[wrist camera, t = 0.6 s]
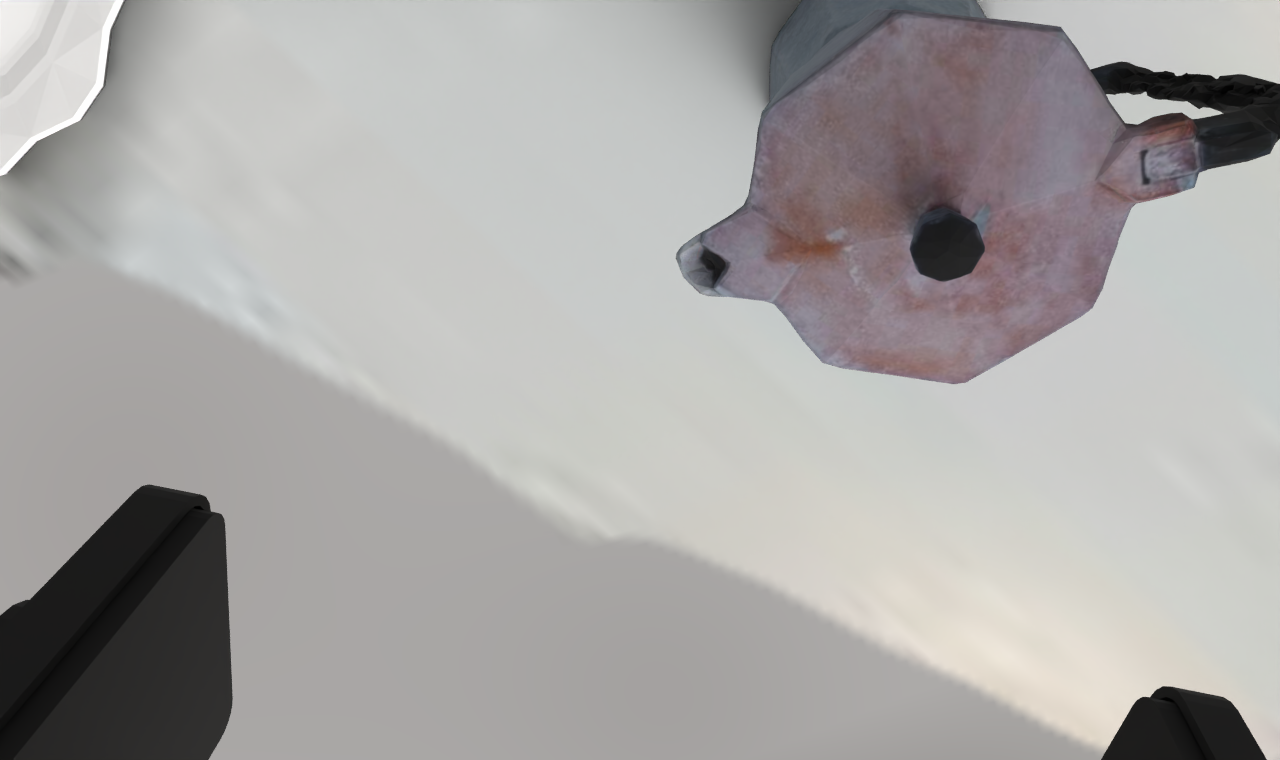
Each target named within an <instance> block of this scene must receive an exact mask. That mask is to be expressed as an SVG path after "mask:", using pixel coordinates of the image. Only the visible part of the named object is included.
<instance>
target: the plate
mask: <svg viewBox="0 0 1280 760" xmlns="http://www.w3.org/2000/svg"><path fill="white" fill-rule="evenodd" d="M125 1H126V0H0V176H1V175H4V174H6V173H8V172H9V171H10V170H11V169H12V168H13V167H14V166H15V165H16V164H17V163H18V162H19V161H20V160H21V159H22V158H23V156H24V155H25V154H26V153H27V152H28V151H29V150H30V149H31V148H32V147H33V146H34V145H35V144H36V143H37V142H38V141H39V140H40V139H42V138H44V137H46V136H48V135H51V134H53V133H55V132H57V131H59V130H61V129H63V128H65V127H67V126H69V125H71V124H73V123H75V122H78V121H80V120H82V119H83V117H84V116H85V114H86V113H87V111H88V110H89V108H90V107H91V105H92V104H93V102H94V101H95V100H96V98H97V97H98V95H99V94H100V92H101V91H102V89H103V88H104V86H105V83H106V75H107V68H108V60H109V52H110V44H111V36H112V29H113V27H114V25H115V22H116V20H117V18H118V16H119V14H120V12H121V9H122V7H123V5H124V3H125Z"/></svg>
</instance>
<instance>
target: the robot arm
mask: <svg viewBox="0 0 1280 760" xmlns="http://www.w3.org/2000/svg"><path fill="white" fill-rule="evenodd" d="M231 708H232V675H231V652H230V629H229V606H228V583H227V559H226V536H225V522H224V518H223V516H222V515H221V514H219V513H215V512H211V510H210V504H209V502H208V500H207V498H206V497H205V496H203V495H200V494H195V493H189V492H184V491H179V490H174V489H169V488H164V487H159V486H154V485H145V486H142V487H140V488H139V489H138V490H137V491H135V492H134V493H133V494H132V495H131V496H130V497H129V498H128V499H127V500H126V501H125V502H124V503H123V504H122V505H121V506H120V508H119V509H118V510H117V511H116V512H115V513H114V514H113V515H112V516H111V517H110V518H109V519H108V520H107V521H106V522H105V523H104V524H103V525H102V526H101V527H100V528H99V529H98V530H97V531H96V532H95V533H94V534H93V535H92V536H91V537H90V539H89V540H88V541H87V542H86V543H85V544H84V545H83V546H82V547H81V548H80V549H79V550H78V551H77V552H76V553H75V554H74V555H73V556H72V557H71V558H70V559H69V560H68V561H67V562H66V563H65V564H64V565H63V566H62V567H61V568H60V569H59V570H58V571H57V573H56V574H55V575H54V576H53V577H52V578H51V579H50V580H49V581H48V582H47V583H46V584H45V585H44V586H43V587H42V588H41V589H40V590H39V591H38V592H37V593H36V594H35V595H34V596H33V597H32V598H31V599H30V600H25V601H22V602H20V603H17V604H15V605H13V606H11V607H10V608H9V609H8V610H6V611H5V612H4V613H3V614H2V615H0V760H208V759H209V758H210V756H211V754H212V752H213V751H214V749H215V747H216V746H217V744H218V742H219V741H220V739H221V737H222V735H223V733H224V731H225V729H226V726H227V724H228V721H229V717H230V714H231ZM1101 760H1267V759H1266V758H1265V756H1264V754H1263V752H1262V751H1261V749H1260V747H1259V746H1258V744H1257V742H1256V741H1255V739H1254V737H1253V735H1252V734H1251V732H1250V730H1249V729H1248V727H1247V725H1246V723H1245V722H1244V720H1243V718H1242V717H1241V715H1240V713H1239V711H1238V710H1237V709H1236V707H1235V706H1234V705H1233V704H1232V702H1230V701H1229V700H1227V699H1225V698H1224V697H1220V696H1215V695H1210V694H1205V693H1200V692H1195V691H1190V690H1185V689H1180V688H1175V687H1165V686H1163V687H1161V688H1159V689H1157V690H1156V691H1155V692H1154V693H1153V694H1152V696H1151V697H1150V698H1149V697H1142V698H1140V699H1138V700H1137V701H1136V702H1135V704H1134V705H1133V706H1132V708H1131V710H1130V711H1129V713H1128V715H1127V717H1126V718H1125V720H1124V722H1123V723H1122V725H1121V727H1120V728H1119V730H1118V732H1117V734H1116V735H1115V737H1114V739H1113V740H1112V742H1111V744H1110V745H1109V747H1108V749H1107V751H1106V752H1105V754H1104V756H1103V757H1102V759H1101Z"/></svg>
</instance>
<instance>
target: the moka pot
mask: <svg viewBox="0 0 1280 760" xmlns="http://www.w3.org/2000/svg"><path fill="white" fill-rule="evenodd" d="M769 91H770V103H769V104H768V105H767V107H766V108H765V109H764V110H763V112H762V115H761V119H760V123H759V127H758V134H757V143H756V152H755V161H754V167H753V173H752V178H751V184H750V190H749V195H748V197H747V199H746V201H745V204H744V205H743V206H742V207H741V208H739V209H738V210H737V211H736V212H734V213H733V214H732V215H730V216H728V217H727V218H725V219H723V220H722V221H720V222H719V223H717V224H715V225H714V226H712V227H710V228H709V229H707V230H705V231H703V232H702V233H700V234H698V235H696V236H695V237H693V238H692V239H691V240H689V241H688V242H687V243H685V244H684V245H683V246H682V247H681V248H680V249H679V251H678V252H677V254H676V259H677V262H678V265H679V267H680V270H681V272H682V275H683V277H684V278H685V279H686V280H687V281H688V282H689V283H690V284H691V285H692V286H693V287H694V288H695V289H696V290H697V291H698V292H699V293H701V294H704V295H707V296H718V297H735V298H743V299H752V300H761V301H766V302H769V303H772V304H775V305H776V307H777V308H778V309H779V310H780V311H781V312H782V313H783V314H784V315H785V317H786V318H787V319H788V321H789V322H790V323H791V325H792V326H793V327H794V329H795V330H796V332H797V333H798V334H799V336H800V337H801V338H802V340H803V341H804V342H805V343H806V345H807V346H808V347H809V348H810V349H811V350H812V351H813V352H814V354H815V355H816V356H817V357H818V358H819V359H820V360H821V361H822V363H826V364H829V365H832V366H836V367H839V368H844V369H851V370H858V371H865V372H872V373H880V374H889V375H896V376H903V377H909V378H916V379H922V380H929V381H936V382H943V383H950V384H958V383H966V382H967V381H969V380H971V379H973V378H974V377H976V376H978V375H980V374H982V373H983V372H985V371H987V370H989V369H991V368H992V367H994V366H996V365H998V364H1000V363H1001V362H1003V361H1005V360H1007V359H1008V358H1010V357H1012V356H1014V355H1015V354H1017V353H1019V352H1021V351H1022V350H1024V349H1026V348H1027V347H1029V346H1031V345H1033V344H1034V343H1036V342H1038V341H1040V340H1041V339H1043V338H1045V337H1047V336H1048V335H1050V334H1052V333H1053V332H1055V331H1057V330H1059V329H1060V328H1062V327H1064V326H1066V325H1067V324H1069V323H1071V322H1073V321H1074V320H1076V319H1078V318H1079V317H1081V316H1082V315H1084V314H1085V313H1086V312H1088V311H1089V310H1090V309H1092V308H1093V306H1094V304H1095V302H1096V300H1097V298H1098V296H1099V294H1100V292H1101V291H1102V289H1103V285H1104V282H1105V279H1106V275H1107V272H1108V269H1109V266H1110V263H1111V260H1112V258H1113V255H1114V253H1115V250H1116V247H1117V244H1118V240H1119V237H1120V234H1121V232H1122V229H1123V227H1124V225H1125V222H1126V220H1127V217H1128V215H1129V212H1130V210H1131V208H1132V207H1133V206H1134V205H1135V204H1136V203H1141V202H1146V201H1150V200H1154V199H1158V198H1162V197H1167V196H1171V195H1174V194H1177V193H1180V192H1182V191H1185V190H1188V189H1191V188H1194V187H1195V184H1196V181H1197V177H1198V174H1199V173H1200V172H1202V171H1205V170H1207V169H1211V168H1216V167H1221V166H1226V165H1231V164H1236V163H1241V162H1246V161H1250V160H1253V159H1256V158H1259V157H1262V156H1265V155H1267V154H1270V153H1271V151H1272V149H1273V147H1274V145H1275V143H1276V142H1277V141H1278V140H1279V139H1280V84H1277V83H1274V82H1270V81H1266V80H1262V79H1258V78H1255V77H1251V76H1247V75H1242V74H1237V75H1227V76H1219V78H1218V79H1215V78H1214V77H1212V76H1211V75H1200V74H1188V73H1186V74H1184V75H1182V76H1175V74H1174V73H1172V72H1167V71H1164V72H1153V71H1151V70H1149V69H1146V68H1142V67H1138V66H1135V65H1133V64H1130V63H1128V62H1117V63H1112V64H1108V65H1105V66H1101V67H1098V68H1094V69H1091V70H1090V69H1089V67H1088V66H1087V64H1086V62H1085V61H1084V59H1083V58H1082V56H1081V54H1080V53H1079V51H1078V50H1077V48H1076V47H1075V45H1074V44H1073V43H1072V42H1071V40H1070V39H1069V38H1068V36H1067V35H1066V34H1065V32H1064V31H1063V30H1062V28H1061V27H1057V26H1050V25H1042V24H1034V23H1027V22H1018V21H1008V20H998V19H988V18H986V17H985V15H984V13H983V11H982V9H981V7H980V6H979V4H978V3H977V1H976V0H802V1H801V3H800V4H799V5H798V7H797V8H796V10H795V11H794V12H793V14H792V15H791V17H790V18H789V19H788V21H787V22H786V24H785V25H784V26H783V27H782V29H781V30H780V32H779V34H778V36H777V38H776V39H775V41H774V43H773V45H772V51H771V61H770V85H769ZM1143 92H1147V96H1149V97H1152V98H1154V99H1159V100H1161V99H1168V100H1173V102H1174V101H1188V102H1189V103H1191V104H1192V105H1194V106H1195V107H1197V108H1198V109H1200V108H1202V107H1208V108H1212V109H1215V110H1218V111H1221V112H1222V113H1223V114H1221V115H1216V116H1211V117H1205V118H1200V119H1191V118H1189V117H1188V116H1186V115H1184V114H1183V113H1170V114H1165V115H1160V116H1156V117H1152V118H1150V119H1148V120H1146V121H1144V122H1142V123H1140V124H1138V125H1135V124H1127V123H1124V121H1123V120H1122V119H1121V117H1120V116H1119V114H1118V113H1117V112H1116V110H1115V109H1114V108H1113V106H1112V105H1111V103H1110V102H1109V100H1108V98H1107V96H1106V94H1113V95H1115V94H1119V93H1130V94H1132V95H1136V94H1141V93H1143Z"/></svg>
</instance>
